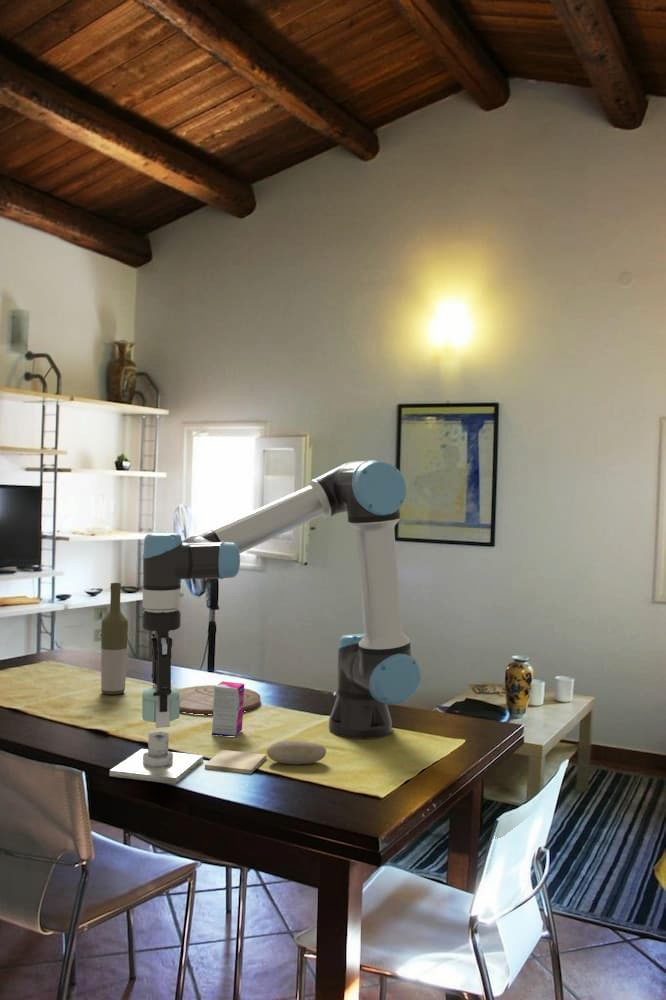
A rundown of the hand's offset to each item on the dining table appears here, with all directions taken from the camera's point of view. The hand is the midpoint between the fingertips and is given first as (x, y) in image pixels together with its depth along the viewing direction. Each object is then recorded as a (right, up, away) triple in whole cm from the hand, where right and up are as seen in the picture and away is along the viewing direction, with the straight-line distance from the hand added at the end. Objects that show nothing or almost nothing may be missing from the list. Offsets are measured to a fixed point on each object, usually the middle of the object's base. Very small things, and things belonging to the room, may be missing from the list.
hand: (160, 721), depth 171 cm
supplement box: (+10, -10, +25) cm, 29 cm away
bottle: (-25, -8, +58) cm, 64 cm away
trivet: (+3, -9, +52) cm, 53 cm away
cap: (0, +1, 0) cm, 1 cm away
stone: (+27, -11, +6) cm, 30 cm away
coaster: (+15, -10, +5) cm, 18 cm away
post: (-1, -10, 0) cm, 10 cm away
